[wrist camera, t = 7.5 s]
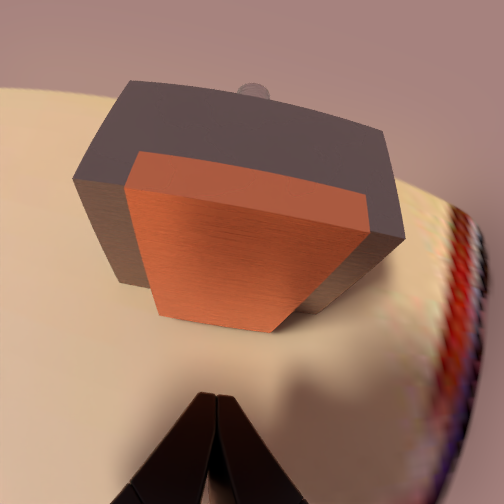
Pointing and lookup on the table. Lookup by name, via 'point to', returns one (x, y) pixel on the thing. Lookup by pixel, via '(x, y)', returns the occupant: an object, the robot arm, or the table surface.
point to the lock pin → (237, 236)
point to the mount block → (238, 154)
